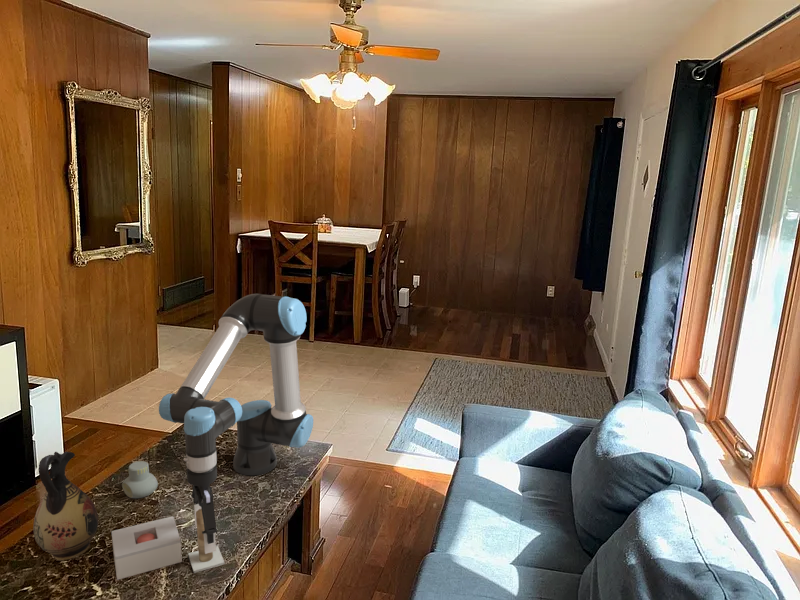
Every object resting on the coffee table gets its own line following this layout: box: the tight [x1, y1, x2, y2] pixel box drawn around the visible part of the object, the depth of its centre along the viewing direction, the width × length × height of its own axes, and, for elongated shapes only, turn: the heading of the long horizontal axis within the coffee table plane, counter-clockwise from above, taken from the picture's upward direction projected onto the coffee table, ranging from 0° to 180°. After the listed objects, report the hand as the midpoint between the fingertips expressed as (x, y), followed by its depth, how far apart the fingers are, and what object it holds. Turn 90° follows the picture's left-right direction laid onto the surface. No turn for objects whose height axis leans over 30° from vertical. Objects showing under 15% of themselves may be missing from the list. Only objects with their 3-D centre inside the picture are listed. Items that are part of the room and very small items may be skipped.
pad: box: [187, 544, 225, 574], centre depth 164 cm, size 8×8×1 cm
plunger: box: [137, 533, 155, 544], centre depth 163 cm, size 4×4×5 cm
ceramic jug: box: [33, 451, 99, 562], centre depth 161 cm, size 17×15×30 cm
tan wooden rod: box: [196, 509, 213, 562], centre depth 162 cm, size 4×4×14 cm
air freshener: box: [121, 460, 159, 499], centre depth 192 cm, size 11×8×10 cm
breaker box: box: [111, 516, 183, 581], centre depth 163 cm, size 16×12×7 cm
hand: (205, 537), depth 162 cm, fingers open, 12 cm apart
